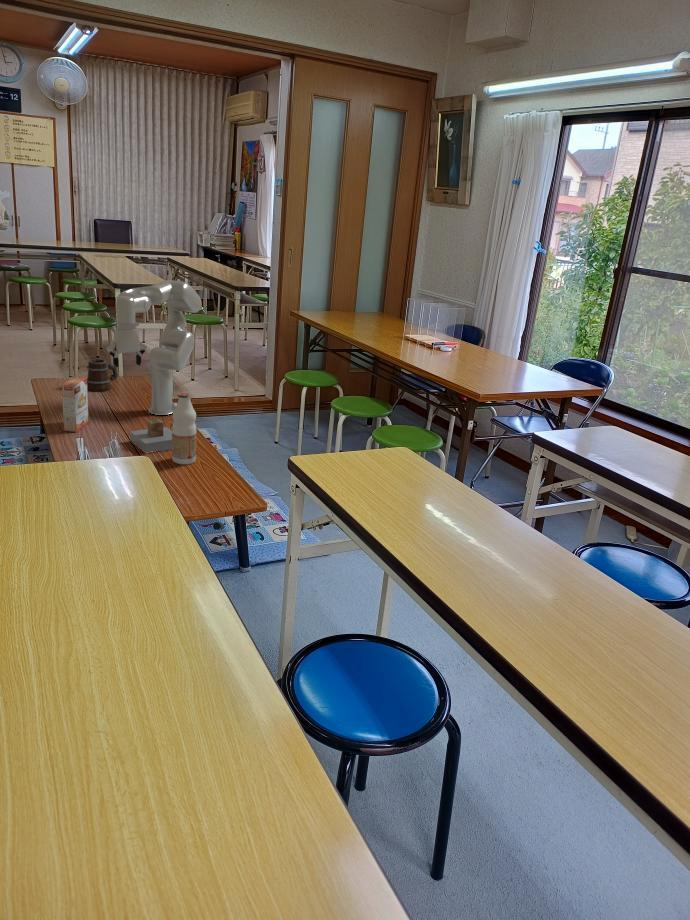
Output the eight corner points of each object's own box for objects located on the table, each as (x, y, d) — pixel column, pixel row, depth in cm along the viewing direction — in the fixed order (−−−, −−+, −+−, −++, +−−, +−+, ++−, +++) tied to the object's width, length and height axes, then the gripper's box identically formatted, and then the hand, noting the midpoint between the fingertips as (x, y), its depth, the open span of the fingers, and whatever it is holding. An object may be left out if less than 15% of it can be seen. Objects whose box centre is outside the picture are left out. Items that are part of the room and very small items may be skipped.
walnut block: (159, 432, 287) (159, 418, 285) (163, 436, 284) (163, 422, 281) (147, 433, 285) (147, 420, 283) (151, 437, 281) (151, 423, 279)
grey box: (166, 437, 296) (166, 426, 295) (182, 449, 285) (182, 438, 283) (130, 442, 287) (130, 431, 285) (145, 455, 275) (145, 443, 274)
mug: (90, 392, 345) (88, 364, 340) (84, 386, 354) (82, 358, 349) (121, 390, 354) (120, 362, 348) (114, 384, 363) (113, 357, 357)
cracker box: (77, 432, 291) (74, 385, 283) (63, 431, 291) (60, 384, 283) (89, 422, 304) (87, 377, 296) (76, 421, 304) (73, 376, 296)
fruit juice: (176, 466, 266) (176, 397, 256) (168, 457, 274) (168, 391, 264) (199, 463, 271) (200, 396, 261) (191, 455, 278) (191, 389, 268)
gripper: (142, 323, 294) (143, 362, 300) (102, 325, 284) (104, 365, 290) (149, 327, 289) (150, 366, 295) (109, 328, 278) (110, 369, 285)
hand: (127, 365), depth 292 cm, fingers open, 9 cm apart
